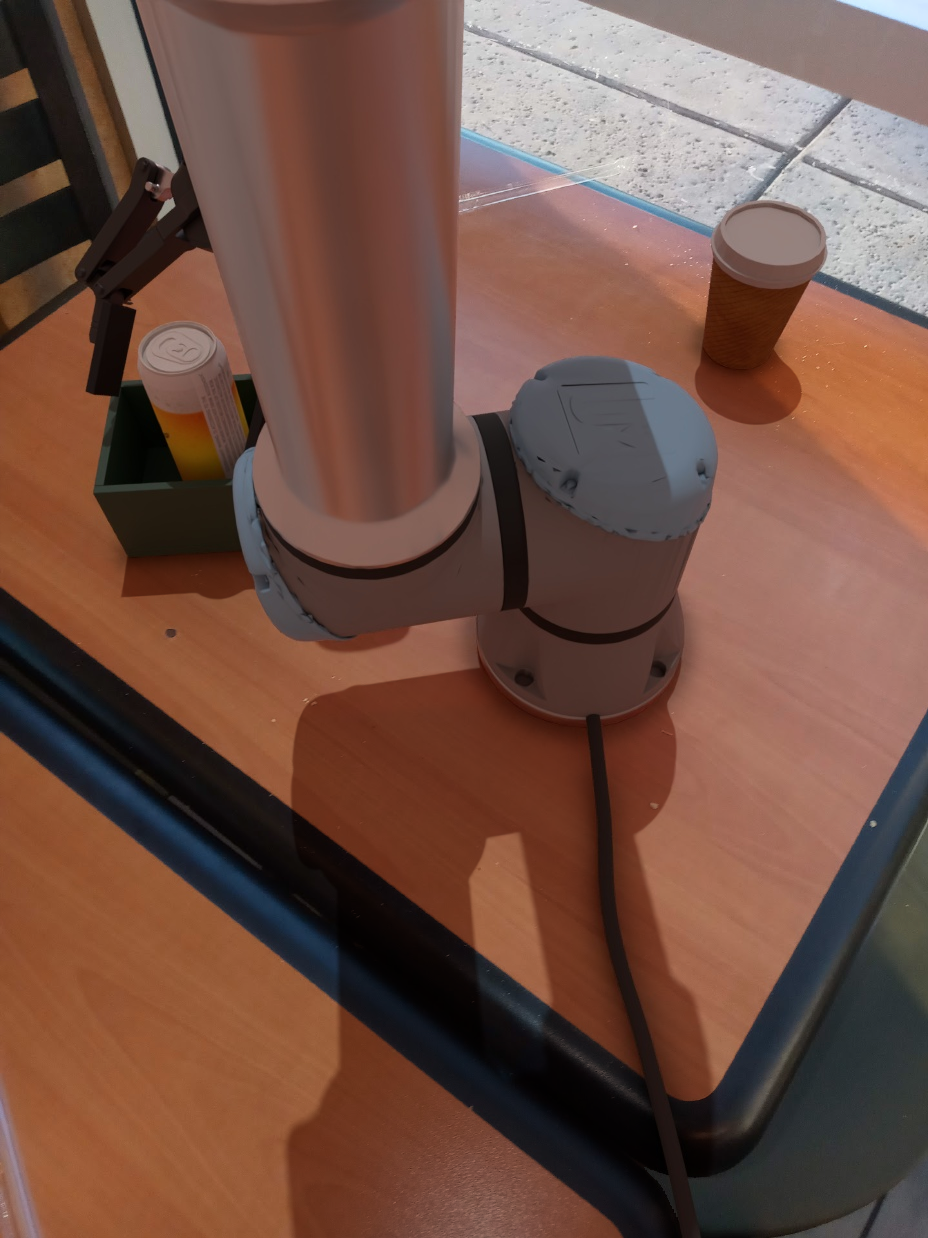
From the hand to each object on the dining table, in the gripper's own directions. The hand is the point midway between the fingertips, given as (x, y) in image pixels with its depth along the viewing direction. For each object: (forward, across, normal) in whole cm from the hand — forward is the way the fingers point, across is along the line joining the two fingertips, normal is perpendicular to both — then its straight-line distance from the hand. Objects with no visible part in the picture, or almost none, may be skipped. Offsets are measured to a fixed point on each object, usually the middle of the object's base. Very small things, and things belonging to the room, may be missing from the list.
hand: (178, 424), depth 65 cm
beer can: (+5, 0, -9) cm, 10 cm away
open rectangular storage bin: (+6, 0, -9) cm, 11 cm away
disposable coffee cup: (-19, -33, -34) cm, 51 cm away
